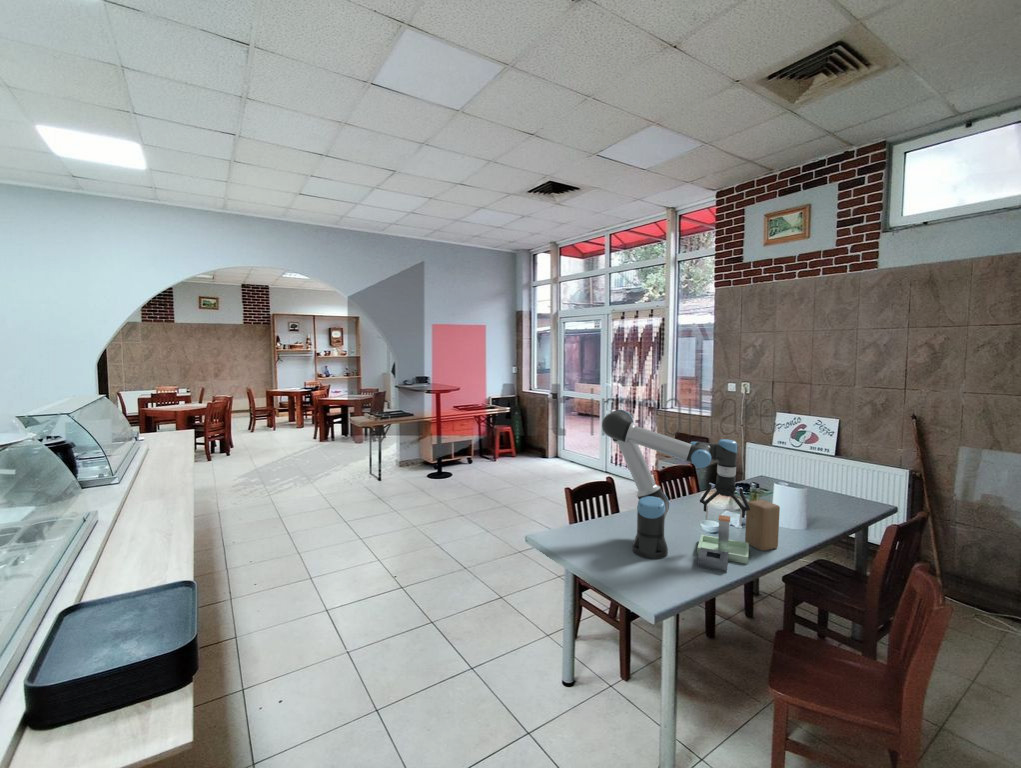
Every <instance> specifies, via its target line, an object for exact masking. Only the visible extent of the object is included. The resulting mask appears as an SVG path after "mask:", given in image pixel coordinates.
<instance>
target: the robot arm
mask: <svg viewBox="0 0 1021 768" xmlns="http://www.w3.org/2000/svg"><path fill="white" fill-rule="evenodd" d="M601 421H602V422H601V428H602V431H603V432H604V434H605V435H606V436H607V437H608V438H611V439H612V441H613V443H615V444H617V445H618V447H619V450H620V451H621V453H622V456H623V459H624V461H625V463H626V466H627V467H628V470H629V472H630V475H631V477H632V479H633V482H634V483H635V487H636V489H637V490H638V491H637V493H636V497H637V499H638V501H637V505H636V508H637V509H636V510H637V513H636V514H637V517H636V518H637V519H636V535H635V537H634V540H633V542H632V551H633V552H634V554H636V555H637V556H639V557H642V558H646V559H651V560H652V559H653V560H655V559H657V560H658V559H663V558H665V557H667V556H668V554H669V548H668V544H667V541H666V538H665V537H666V536H665V523H666V522H665V520H666V517H667V513H668V512H669V509H670V502H669V501H670V500H669V498H668V496H667V495H666V493H664V492H663V490H662V488H661V485H658V484H656V481H655V479H654V478H653V476H652V473H651V471H650V469H649V466H648V464H647V461H646V460H645V457H644V455H643V452H642V450H641V448H640V446H642V447H644V448H647V449H650V450H653V451H657V452H659V453H663V454H664V455H665V454H666V455H668V456H671V457H674V458H676V459H679V460H683V461H686V462H688V463H691V464H693V465H694V467H696V468H699V469H704V468H707V467H708V466H709V465H710V463H711V462H712V461H716V462H717V465H716V466H717V467H716V473H717V475H716V483H715V484H714V483H712V482H709V483H708V486H707V488H706V490H705V492H704V493H703V495H702V496H701V497H700V499H699V503H701V504H703V512H705V520H706V521H707V520H709V510H710V507H709V506H710V502H711V501H713V500H714V499H715V498H716V497H717V496H722V497H731V499H733V501H734V502H735V503H736V505H738V506H739V508H740V509H739V522H738V525H739V526H740V527H741V526H742V520H743V519H746V511H747V510H748V511H749V510H750V506H749V504H748V502H749V501H748V500H747V499H746V498H747V497H746V496H745V494H744V488H743V487H742V486H740V487H736V475H737V459H738V443H737V441H735V440H734V439H726V438H725V439H724V438H723V439H719V440H718V442H717V443H713V442H711V443H710V442H704V441H703V442H702V441H691V442H689V443H688V442H685V441H682V440H680V439H678V438H677V439H676V438H674V437H671V436H669V435H665V434H662V433H659V432H655V431H652V430H650V429H647V428H643V427H640V426H637V425H635V424H634V419H633V417H632V415H631V414H630V413H629V412H628V411H626V410H623V409H616V410H613V411H611V412H610V413H607V415H605V416H604V418H603V420H601ZM714 488H715V492H713V493H712V494H711V495H710V496H709V497H707V496H708V494H709V493H710V491H712V489H714ZM736 491H737V493H738V494H739V496H740V498H741V500H742V502H743V503H742V502H741V500H740V499H739V498H738V497H737V495H736V494H735V492H736ZM706 498H707V499H706Z"/></svg>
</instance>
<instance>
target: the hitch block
mask: <svg viewBox="0 0 1021 768" xmlns="http://www.w3.org/2000/svg"><path fill="white" fill-rule="evenodd" d="M728 554H729V553H728V552H723V551H718V550H712V549H707V548H702V547H701V549H700V552H699V554H698V556H697V568H701V569H707V570H713V571H716V572H721V573H727V572H728V565H729V560H728Z"/></svg>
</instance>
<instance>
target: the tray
mask: <svg viewBox="0 0 1021 768" xmlns="http://www.w3.org/2000/svg"><path fill="white" fill-rule="evenodd" d="M699 538H700V539H699V542H698V545H697V548H696V549H697V551H696V552H697V553H696V554H697V555H699V552H700V549H701V547H702V548H707V549H712V550H718V538H719V536H711V535H706V534H700V537H699ZM749 549H750V545H749V543H747V542H745V541H740V540H734V539H729V547H728V553H729V554H728V561H731V562H736V563H741V564H746V565H748V564H749V551H750V550H749Z"/></svg>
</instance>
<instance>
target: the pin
mask: <svg viewBox="0 0 1021 768" xmlns="http://www.w3.org/2000/svg"><path fill="white" fill-rule="evenodd" d="M730 522H731V516H729V515H723V514H719V515H718V551H723V552H728V547H729V540H730Z"/></svg>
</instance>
